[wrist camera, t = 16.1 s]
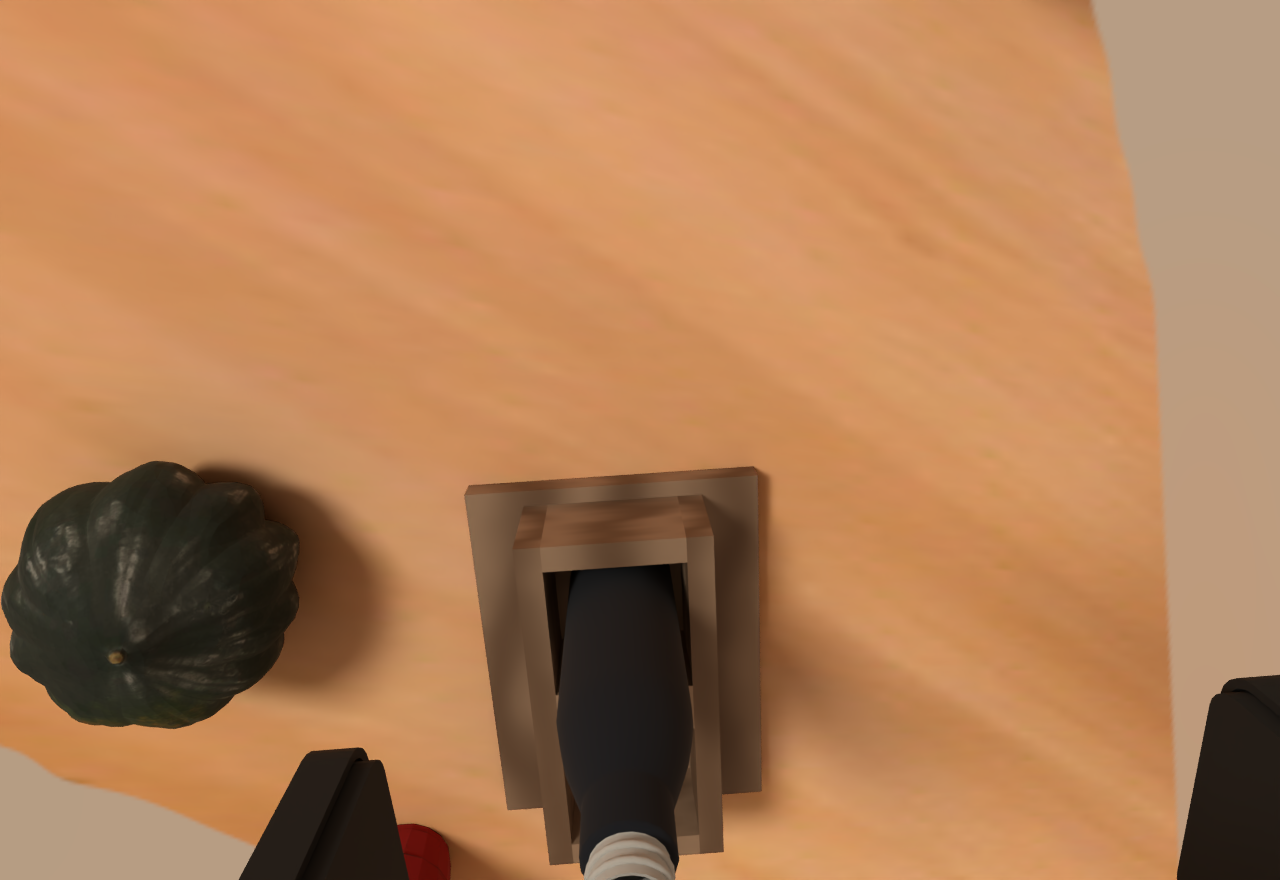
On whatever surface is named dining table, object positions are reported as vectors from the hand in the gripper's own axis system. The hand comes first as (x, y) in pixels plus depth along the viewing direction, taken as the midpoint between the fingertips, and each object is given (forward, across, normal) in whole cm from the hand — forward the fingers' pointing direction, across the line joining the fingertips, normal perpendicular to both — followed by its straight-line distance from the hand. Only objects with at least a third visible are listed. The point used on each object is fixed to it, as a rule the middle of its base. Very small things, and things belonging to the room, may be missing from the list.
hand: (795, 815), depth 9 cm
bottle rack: (+39, +4, +23) cm, 46 cm away
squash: (+40, +30, +14) cm, 51 cm away
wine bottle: (+38, +3, +18) cm, 42 cm away
